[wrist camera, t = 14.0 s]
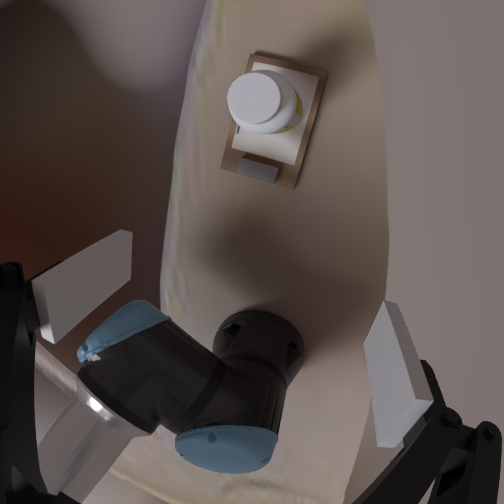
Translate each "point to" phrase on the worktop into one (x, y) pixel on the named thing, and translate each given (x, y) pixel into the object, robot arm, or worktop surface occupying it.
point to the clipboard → (276, 145)
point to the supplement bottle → (264, 102)
